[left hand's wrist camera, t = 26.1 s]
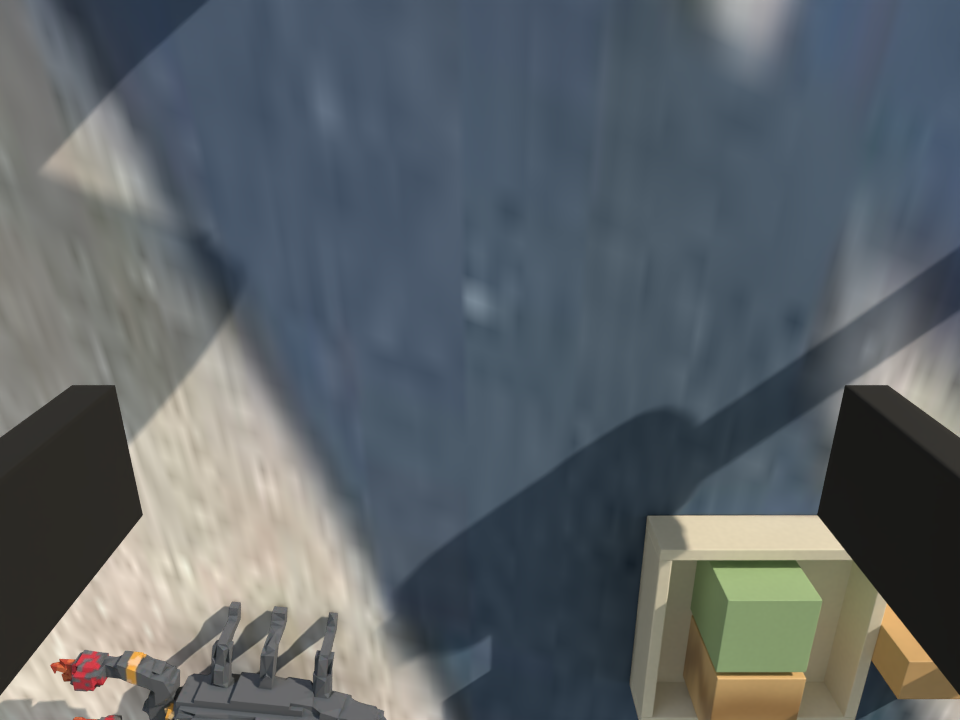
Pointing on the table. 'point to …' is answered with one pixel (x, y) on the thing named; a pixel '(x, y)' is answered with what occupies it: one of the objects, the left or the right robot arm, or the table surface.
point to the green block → (755, 614)
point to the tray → (840, 628)
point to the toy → (225, 682)
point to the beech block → (738, 688)
